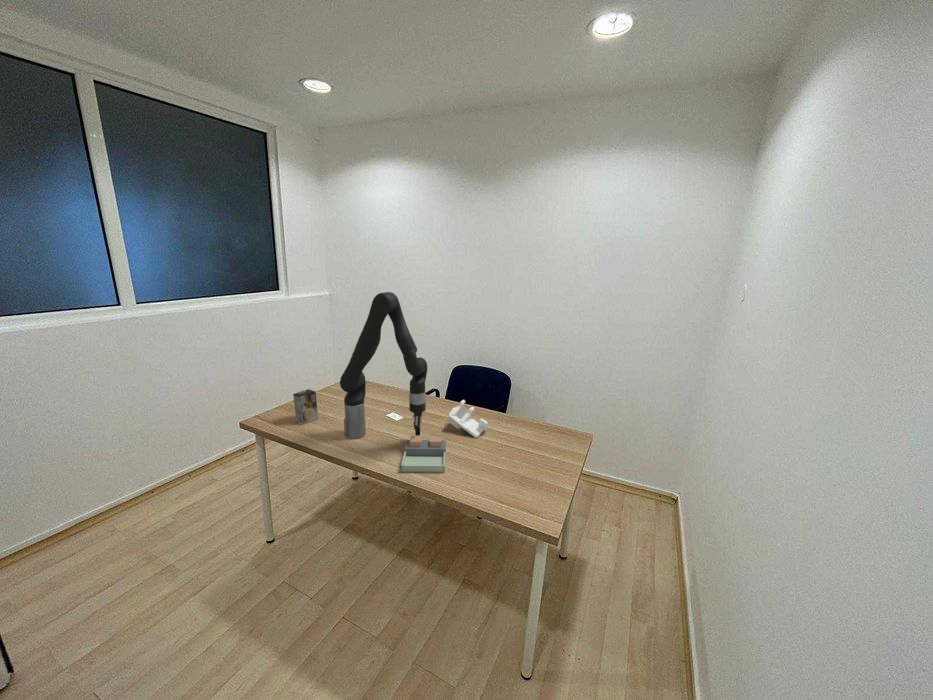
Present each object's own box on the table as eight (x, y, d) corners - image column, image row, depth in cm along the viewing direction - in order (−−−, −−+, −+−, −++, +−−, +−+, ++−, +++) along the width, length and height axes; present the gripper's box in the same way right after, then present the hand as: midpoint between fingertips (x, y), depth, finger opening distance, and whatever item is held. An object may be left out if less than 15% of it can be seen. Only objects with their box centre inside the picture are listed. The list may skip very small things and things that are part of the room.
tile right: (429, 446, 158) (429, 441, 158) (430, 441, 163) (430, 436, 162) (441, 447, 158) (441, 442, 158) (441, 441, 163) (441, 436, 163)
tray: (400, 472, 146) (400, 465, 145) (404, 457, 156) (404, 451, 156) (444, 472, 146) (444, 466, 146) (445, 457, 157) (445, 451, 156)
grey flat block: (404, 456, 157) (404, 448, 156) (407, 447, 165) (407, 439, 164) (445, 457, 158) (445, 449, 157) (445, 448, 165) (445, 440, 164)
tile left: (409, 446, 158) (409, 441, 157) (411, 441, 163) (411, 436, 162) (421, 446, 158) (421, 441, 157) (422, 441, 163) (422, 436, 162)
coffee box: (311, 416, 194) (308, 388, 190) (318, 419, 191) (316, 391, 187) (295, 422, 186) (292, 393, 182) (303, 425, 183) (300, 396, 179)
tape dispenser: (480, 436, 187) (491, 419, 182) (471, 446, 177) (483, 427, 172) (450, 414, 192) (461, 396, 187) (440, 422, 182) (451, 403, 177)
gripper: (411, 395, 169) (411, 428, 173) (407, 406, 156) (408, 441, 160) (426, 395, 169) (426, 428, 173) (424, 406, 156) (424, 441, 160)
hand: (417, 434), depth 167 cm, fingers closed
